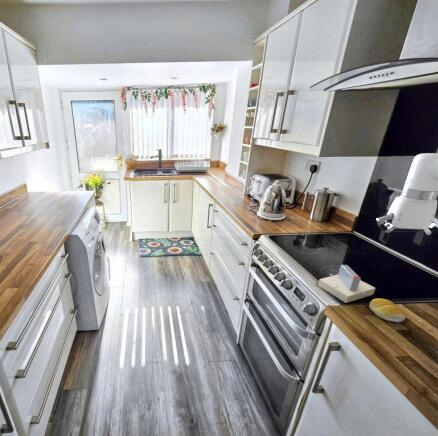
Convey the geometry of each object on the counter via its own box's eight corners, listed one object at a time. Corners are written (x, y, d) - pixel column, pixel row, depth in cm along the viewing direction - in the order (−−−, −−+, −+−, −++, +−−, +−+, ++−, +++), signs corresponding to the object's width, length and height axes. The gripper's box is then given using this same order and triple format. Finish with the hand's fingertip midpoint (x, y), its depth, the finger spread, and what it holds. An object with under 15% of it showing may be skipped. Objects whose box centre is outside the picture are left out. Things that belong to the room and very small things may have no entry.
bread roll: (388, 305, 85) (392, 295, 83) (409, 324, 77) (413, 314, 75) (362, 302, 86) (365, 293, 85) (379, 321, 78) (383, 311, 77)
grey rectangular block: (337, 276, 96) (341, 264, 94) (343, 276, 96) (347, 264, 94) (349, 290, 88) (353, 277, 86) (356, 291, 88) (361, 277, 86)
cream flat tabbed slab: (340, 276, 101) (342, 270, 100) (376, 296, 89) (379, 289, 88) (315, 283, 97) (316, 277, 96) (349, 305, 85) (351, 298, 84)
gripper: (442, 191, 76) (422, 239, 82) (378, 190, 80) (363, 236, 86) (465, 198, 70) (441, 250, 76) (394, 196, 73) (377, 246, 79)
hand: (400, 243), depth 81 cm, fingers open, 9 cm apart
